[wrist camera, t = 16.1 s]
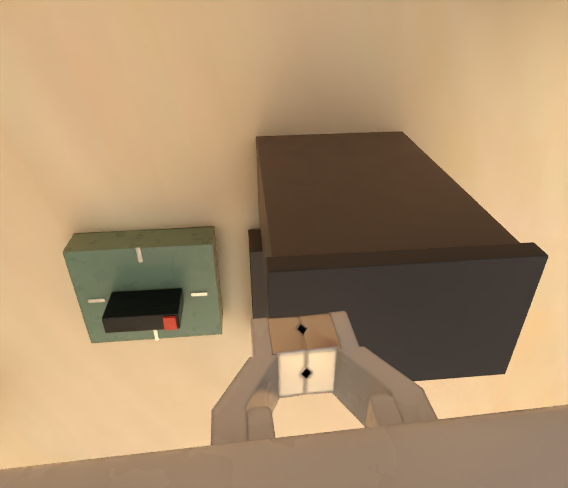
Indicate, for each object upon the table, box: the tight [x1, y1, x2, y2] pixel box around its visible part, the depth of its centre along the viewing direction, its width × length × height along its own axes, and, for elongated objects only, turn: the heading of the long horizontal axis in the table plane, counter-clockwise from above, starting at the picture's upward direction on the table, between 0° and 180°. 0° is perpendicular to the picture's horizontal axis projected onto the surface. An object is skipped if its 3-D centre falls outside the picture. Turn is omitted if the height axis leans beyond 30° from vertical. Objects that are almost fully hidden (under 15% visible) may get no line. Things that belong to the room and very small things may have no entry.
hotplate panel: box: [63, 227, 223, 343], centre depth 40 cm, size 12×10×3 cm
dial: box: [102, 288, 184, 333], centre depth 37 cm, size 6×2×4 cm, turn 90°
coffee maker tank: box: [256, 132, 548, 381], centre depth 29 cm, size 13×8×19 cm, turn 90°
